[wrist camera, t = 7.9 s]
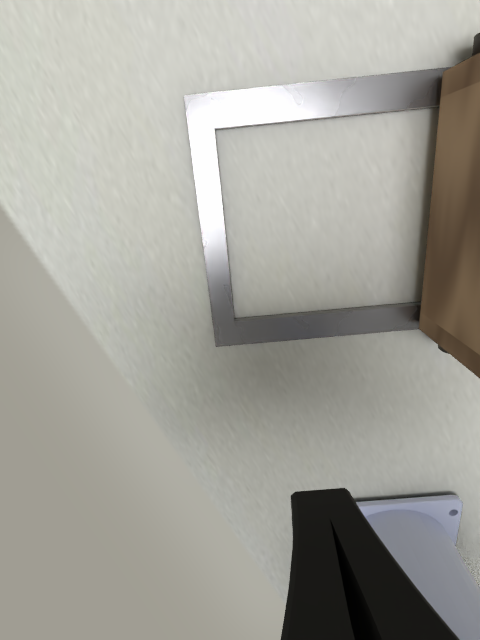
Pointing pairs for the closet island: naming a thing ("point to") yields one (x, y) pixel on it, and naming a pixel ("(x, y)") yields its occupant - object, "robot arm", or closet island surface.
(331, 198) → the closet island surface
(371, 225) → the closet island surface
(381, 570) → the robot arm
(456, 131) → the cart
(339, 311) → the frame
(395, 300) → the closet island surface
